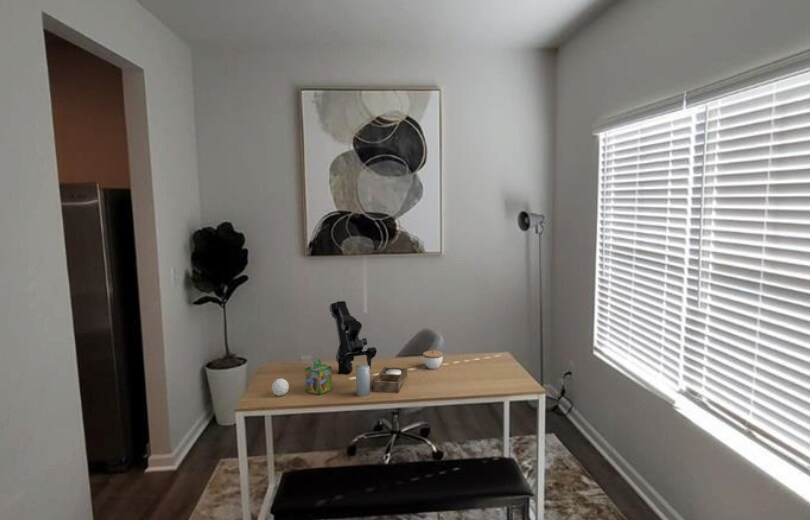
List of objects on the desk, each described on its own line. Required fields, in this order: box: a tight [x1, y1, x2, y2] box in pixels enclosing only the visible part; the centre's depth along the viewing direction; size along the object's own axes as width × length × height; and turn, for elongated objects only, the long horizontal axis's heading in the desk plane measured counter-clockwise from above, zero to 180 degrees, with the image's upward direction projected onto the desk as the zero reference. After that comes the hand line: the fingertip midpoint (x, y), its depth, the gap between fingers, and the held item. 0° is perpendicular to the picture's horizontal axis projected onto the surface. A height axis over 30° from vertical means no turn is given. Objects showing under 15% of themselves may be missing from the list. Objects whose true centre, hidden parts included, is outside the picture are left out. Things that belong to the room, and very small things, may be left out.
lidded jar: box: [422, 349, 444, 370], centre depth 258 cm, size 11×11×9 cm
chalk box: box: [305, 358, 333, 396], centre depth 226 cm, size 9×9×15 cm
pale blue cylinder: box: [355, 364, 371, 398], centre depth 221 cm, size 6×6×13 cm
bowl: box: [386, 369, 401, 375], centre depth 240 cm, size 8×8×3 cm
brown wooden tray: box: [373, 366, 408, 394], centre depth 234 cm, size 12×22×5 cm, turn 169°
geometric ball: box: [271, 378, 290, 397], centre depth 222 cm, size 8×8×8 cm
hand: (360, 370), depth 224 cm, fingers open, 9 cm apart
